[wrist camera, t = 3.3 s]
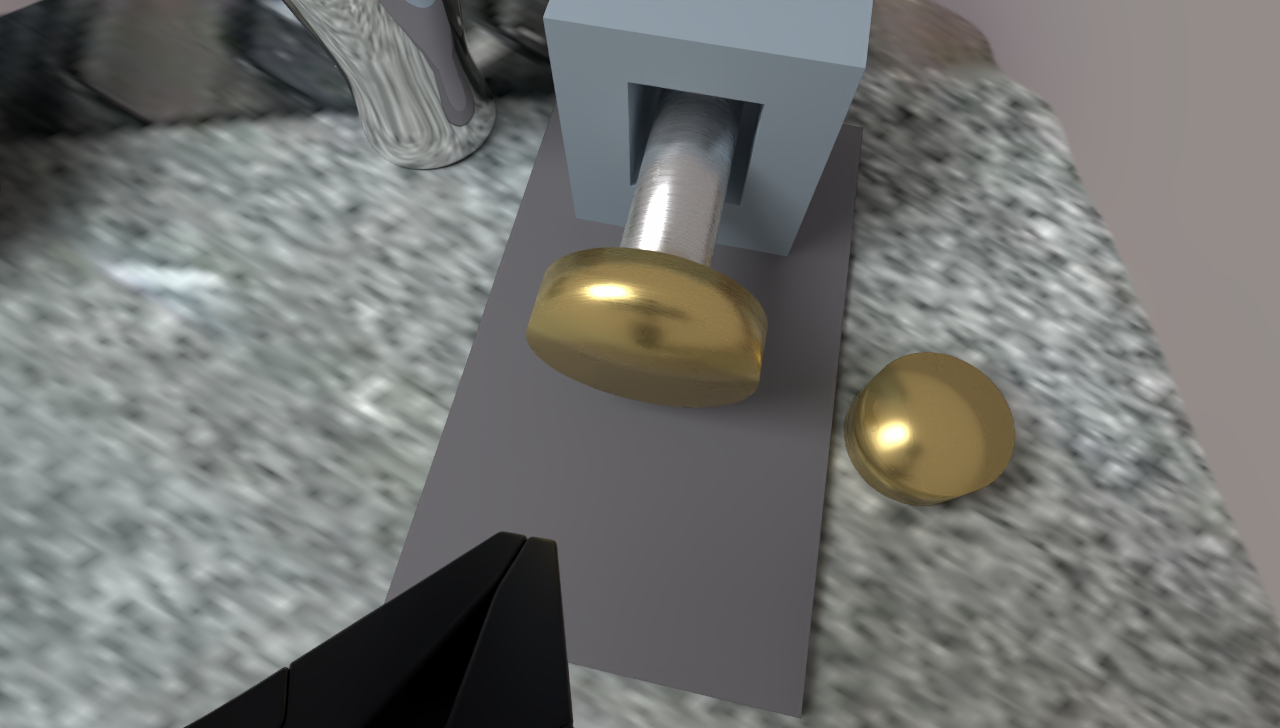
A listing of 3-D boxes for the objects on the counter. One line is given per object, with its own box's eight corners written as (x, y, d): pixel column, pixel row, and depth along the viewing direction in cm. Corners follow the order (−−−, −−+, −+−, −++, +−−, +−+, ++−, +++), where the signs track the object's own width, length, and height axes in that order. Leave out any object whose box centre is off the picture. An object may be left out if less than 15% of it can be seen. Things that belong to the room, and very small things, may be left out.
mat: (797, 716, 20) (800, 718, 20) (384, 617, 21) (379, 617, 21) (859, 133, 29) (862, 127, 28) (564, 85, 30) (563, 78, 29)
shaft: (739, 421, 22) (782, 339, 15) (544, 381, 22) (504, 286, 16) (792, 96, 27) (840, -68, 20) (633, 71, 27) (631, -97, 21)
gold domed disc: (1005, 464, 23) (1046, 448, 21) (897, 532, 22) (928, 523, 20) (920, 355, 25) (949, 329, 22) (816, 414, 24) (836, 393, 21)
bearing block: (787, 256, 26) (865, 68, 17) (576, 217, 26) (542, 17, 17) (806, 125, 28) (883, -99, 19) (613, 93, 29) (601, -137, 20)
